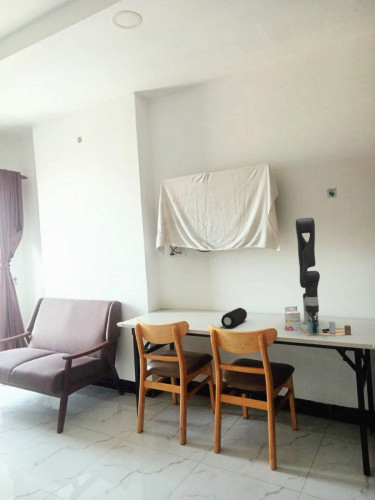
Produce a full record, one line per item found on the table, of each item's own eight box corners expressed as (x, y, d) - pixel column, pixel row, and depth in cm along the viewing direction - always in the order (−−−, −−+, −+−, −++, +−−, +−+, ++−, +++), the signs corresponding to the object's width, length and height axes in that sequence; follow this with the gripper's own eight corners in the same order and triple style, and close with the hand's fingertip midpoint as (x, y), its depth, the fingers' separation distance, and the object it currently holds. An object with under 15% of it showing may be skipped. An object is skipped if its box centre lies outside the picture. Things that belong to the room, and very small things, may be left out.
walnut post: (344, 333, 208) (344, 325, 208) (349, 333, 207) (349, 325, 207) (346, 335, 205) (346, 326, 205) (351, 334, 205) (350, 326, 205)
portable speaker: (236, 320, 262) (235, 306, 262) (248, 321, 257) (247, 307, 257) (220, 328, 241) (219, 313, 241) (233, 329, 236) (232, 314, 235)
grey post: (329, 333, 210) (329, 321, 210) (334, 333, 210) (333, 321, 210) (331, 334, 208) (330, 322, 208) (335, 334, 208) (335, 322, 207)
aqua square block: (308, 331, 217) (307, 321, 217) (316, 331, 216) (316, 320, 216) (310, 334, 212) (309, 323, 211) (319, 333, 211) (318, 322, 211)
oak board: (302, 330, 222) (302, 329, 222) (343, 329, 220) (343, 328, 220) (308, 337, 206) (308, 336, 206) (352, 336, 204) (352, 335, 204)
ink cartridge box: (287, 331, 222) (286, 308, 222) (285, 329, 227) (284, 306, 227) (301, 330, 222) (300, 307, 222) (298, 328, 227) (297, 305, 227)
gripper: (302, 302, 221) (304, 328, 221) (308, 306, 207) (310, 334, 207) (315, 301, 220) (316, 328, 221) (321, 305, 206) (323, 334, 206)
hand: (313, 331), depth 214 cm, fingers open, 7 cm apart
